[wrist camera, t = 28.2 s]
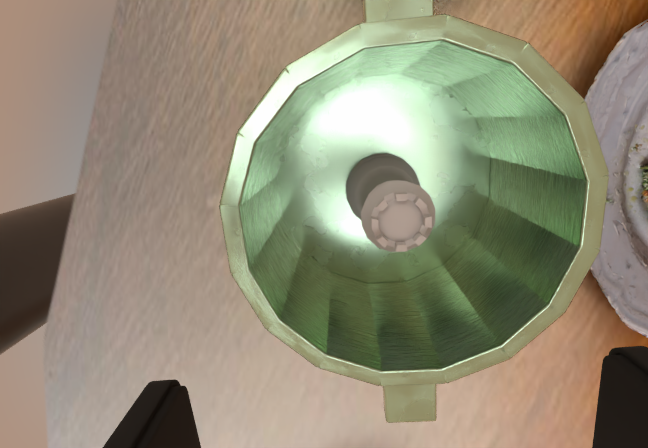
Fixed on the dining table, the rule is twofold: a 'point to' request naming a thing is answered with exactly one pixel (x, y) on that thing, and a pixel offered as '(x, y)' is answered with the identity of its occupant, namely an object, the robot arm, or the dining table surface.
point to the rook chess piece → (390, 202)
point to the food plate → (624, 176)
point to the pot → (437, 180)
